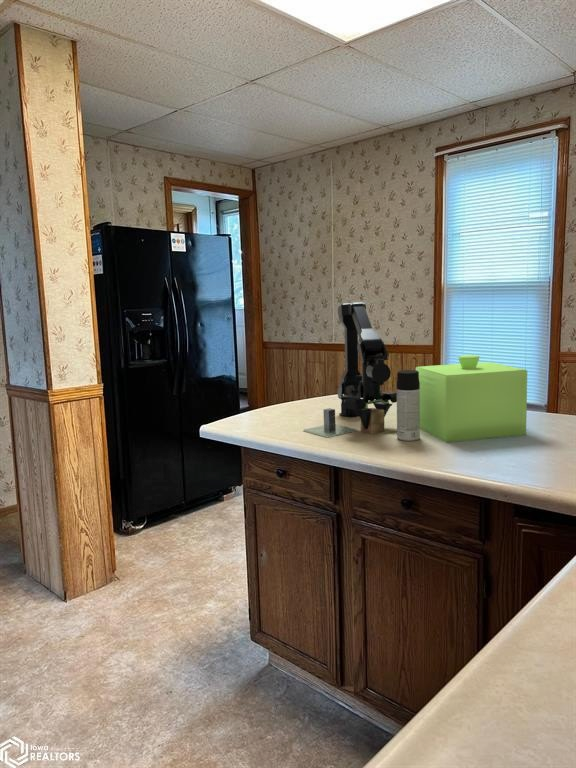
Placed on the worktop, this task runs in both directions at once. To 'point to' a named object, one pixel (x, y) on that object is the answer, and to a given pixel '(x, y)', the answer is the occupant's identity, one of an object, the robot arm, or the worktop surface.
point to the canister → (472, 400)
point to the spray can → (408, 405)
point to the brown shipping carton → (375, 422)
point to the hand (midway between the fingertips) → (372, 427)
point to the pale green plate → (329, 426)
